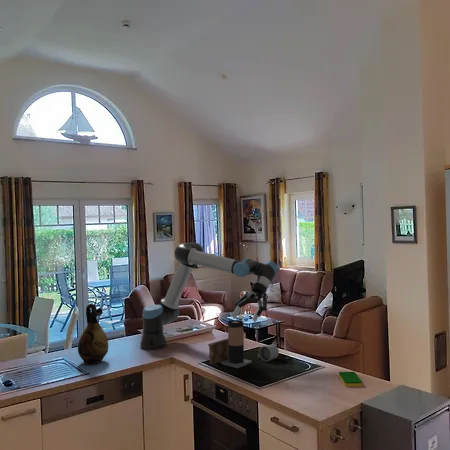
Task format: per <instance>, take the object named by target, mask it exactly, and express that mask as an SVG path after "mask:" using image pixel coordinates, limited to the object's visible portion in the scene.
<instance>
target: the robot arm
mask: <svg viewBox="0 0 450 450" xmlns="http://www.w3.org/2000/svg"><path fill="white" fill-rule="evenodd" d="M173 254H174V258H175V259H176V260H177V262H178V266H177V268H176V271H175V273H174V276H173V278H172V281H171V283H170V286H169V287H168V290H167V292H166V295H165V297H164V298H162V299H161V300H160V302H159V304H152V305H147V306H145V307H144V308H143V309H142V336H141V340H140V345H139V346H140V347H139V348H140V349H141V350H145V351H153V350H161V349H164V348H166V347H167V345H168V344H167V340H166V336H165V333H164V326H166V325H169V324H172V323H174V322H175V321H176V320H177V319H178V318H179V315H180V311H179V308H180V304H179V302H180V299H181V298H182V294H183V292H184V291H185V288H186V286H187V283H188V281H189V278H190V277H191V273H192V272H193V270H194V269H196V268H197V267H198V266H201V267H206V268H209V269H214V270H217V271H221V272H226V273H230V274H233V275H235V276H237V277H238V278H239V277H240V278H242V277H246V276H251V275H253V276H257V278H256V280H255V282H254V284H253V286H252V287H251V291H250V292H249V290H247V291H245V293H244V294H243V295H241V297H240V298H239V299H237V300H236V301H235V302H234V306H235V308H234V310H233V312H232V315H231V316H232V318H233V319H234V320H237V317H238V316H239V313H240V312H241V310H242V308H243V307H244V306H246V305H247V304H249V303H252V302H257V305H258V308H257V309H256V311H254V313H253V316H252V318H251V319H252V321H253V322H254V323H257V320H258V319H259V318H260V317H261V315H262V313H263V312H264V311H267V310H268V298H269V295H268V294H267V291H268V289H269V287H270V285H271V283H272V281H273V279H274V277H275V276H276V275H277V272H278V268H279V267H278V265H277V263H275V262H274V261H272V260H271V261H270V260H268V261H266V262H265V263H262V262H259V261H256V260H253V259H251V258H243V260H236V259H233V258H229V257H226V256H221V255H217V254H212V253H209V252H208V253H207V252H205V249H204V247H203V246H202V244H201V243H198V242H195V241H191V242H183V243H180V244H178V245H177V246H176V247H175V249H174V253H173Z"/></svg>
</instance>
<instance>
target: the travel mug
mask: <svg viewBox="0 0 450 450" xmlns="http://www.w3.org/2000/svg"><path fill="white" fill-rule="evenodd" d="M227 325H228V328H227V330H228V331H227V332H228V333H227V334H228V335H227V336H228V338H227V339H228V344H229V361H230V362H231V363H242V362H243V361H244V359H245V358H244V357H245V355H244V354H245V353H244V352H245V351H244V349H245V348H244V346H245V345H244V343H245V342H244V341H245V339H244V321H243V320H241V319H235V320H234V321H233V320H228V322H227Z"/></svg>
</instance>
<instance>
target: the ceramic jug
mask: <svg viewBox="0 0 450 450" xmlns="http://www.w3.org/2000/svg"><path fill="white" fill-rule="evenodd" d="M103 313H104V312H103V309H102V307H98V308H97V306H96V304H93V303H89V304H87V306H86V308H85V314H86V315H85V317H86V323H87V325H86V327H85V329H84V330H83V332H82V333H81V335H80V337H79V340H78V344H77V352H78V353H77V354H78V355H79V357H80V358H81V360H82V361H83V364H84V365H87V366H91V365H93V366H94V365H98V364H102V362H103V359H104V358H105V357H106V355H107V353H108V352H109V351H108V350H109V340H108V337H107V334H106V333H105V331H104V329H103V327H102V326H101V325H100V323H99V322H98V321H99V320H98V317H100V316H102V314H103Z"/></svg>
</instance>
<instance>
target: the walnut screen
mask: <svg viewBox="0 0 450 450" xmlns="http://www.w3.org/2000/svg"><path fill="white" fill-rule="evenodd" d="M208 347H209V352H208V353H209V365H212V366H213V365H216V364H219V363H221V362H223V361H225V360H228V359H229V344H228V338H224V339H222V340H219V341H214V342H210V343H208Z"/></svg>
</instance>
